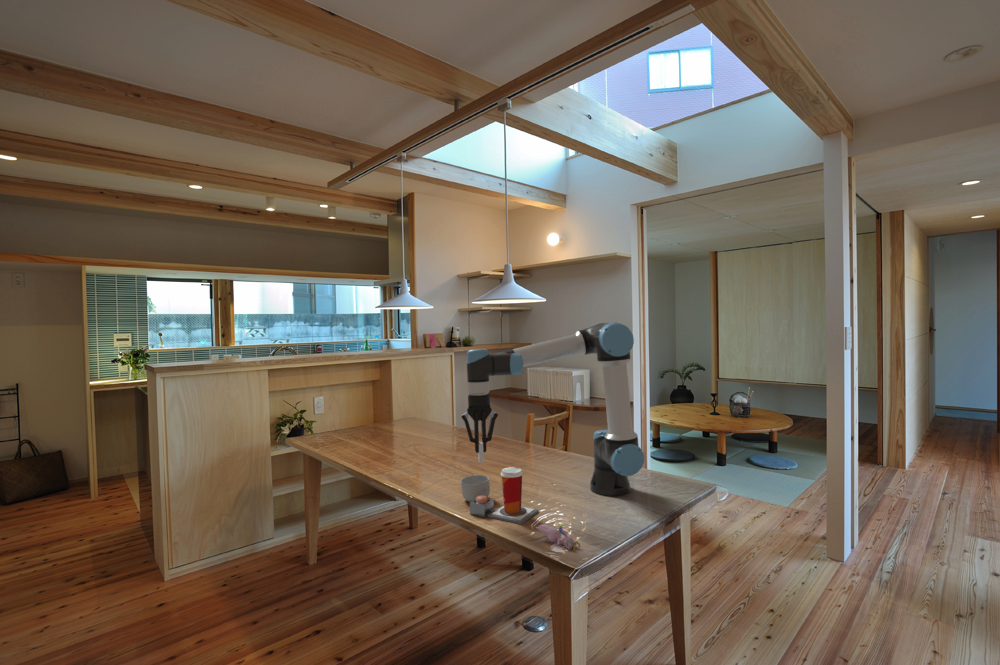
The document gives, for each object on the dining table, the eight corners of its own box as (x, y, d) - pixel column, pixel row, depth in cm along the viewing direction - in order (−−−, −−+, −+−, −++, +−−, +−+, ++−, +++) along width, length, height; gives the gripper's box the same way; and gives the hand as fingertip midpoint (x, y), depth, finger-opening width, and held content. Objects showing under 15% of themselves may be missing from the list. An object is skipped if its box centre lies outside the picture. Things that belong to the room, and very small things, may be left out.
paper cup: (510, 505, 166) (509, 465, 166) (528, 509, 162) (527, 469, 162) (496, 512, 160) (495, 471, 160) (514, 517, 156) (513, 475, 155)
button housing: (494, 511, 165) (493, 499, 165) (484, 517, 159) (484, 505, 159) (479, 508, 168) (479, 496, 168) (470, 513, 163) (469, 502, 163)
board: (538, 511, 163) (538, 508, 163) (521, 524, 153) (521, 520, 153) (506, 505, 170) (505, 502, 170) (487, 517, 159) (487, 513, 159)
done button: (489, 505, 164) (489, 496, 164) (483, 508, 161) (483, 500, 161) (480, 503, 166) (480, 494, 166) (474, 506, 163) (474, 498, 163)
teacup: (486, 506, 170) (486, 483, 170) (457, 504, 172) (457, 482, 172) (494, 492, 183) (493, 472, 183) (467, 491, 185) (466, 471, 185)
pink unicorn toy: (583, 551, 136) (543, 528, 147) (585, 532, 135) (545, 510, 146) (570, 559, 132) (530, 535, 142) (572, 539, 131) (531, 516, 141)
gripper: (495, 391, 168) (497, 457, 168) (459, 393, 166) (461, 460, 166) (499, 394, 161) (501, 463, 161) (460, 396, 159) (463, 466, 159)
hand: (481, 461), depth 163 cm, fingers closed
